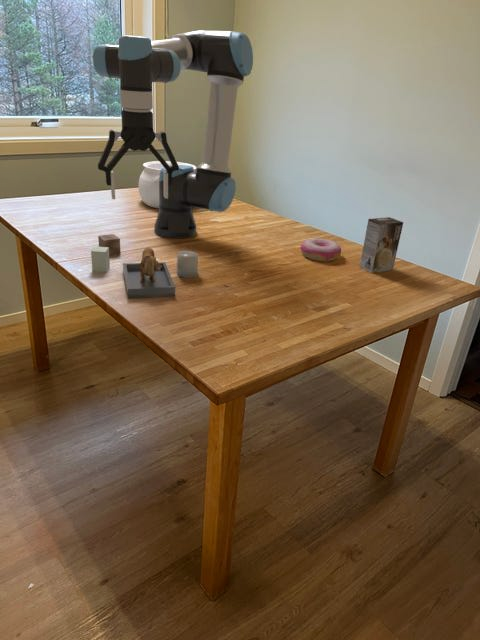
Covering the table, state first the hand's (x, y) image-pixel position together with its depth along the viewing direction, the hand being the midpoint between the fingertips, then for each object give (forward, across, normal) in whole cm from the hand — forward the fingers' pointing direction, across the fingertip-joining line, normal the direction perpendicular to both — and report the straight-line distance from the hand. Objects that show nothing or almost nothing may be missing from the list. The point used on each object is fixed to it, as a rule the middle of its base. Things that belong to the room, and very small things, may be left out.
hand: (140, 197), depth 126 cm
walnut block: (+22, +8, -20) cm, 31 cm away
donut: (+24, -61, -10) cm, 66 cm away
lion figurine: (+21, -1, +4) cm, 21 cm away
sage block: (+22, +11, -6) cm, 25 cm away
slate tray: (+22, -1, +6) cm, 23 cm away
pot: (+24, -22, -80) cm, 86 cm away
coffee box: (+23, -75, +4) cm, 78 cm away
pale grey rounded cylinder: (+22, -13, +1) cm, 26 cm away
